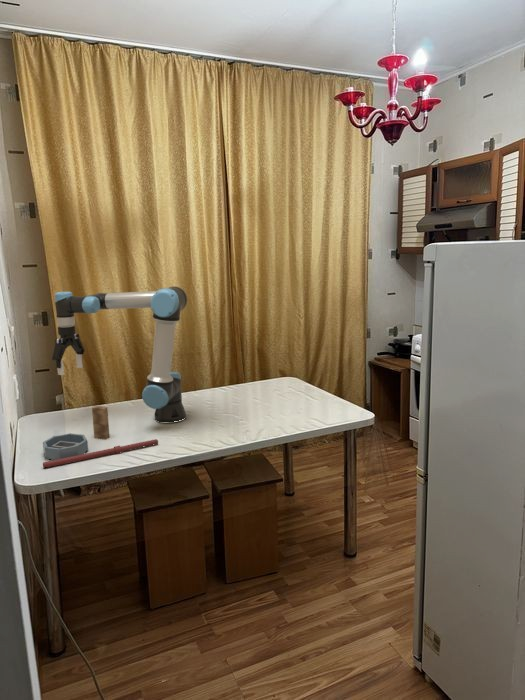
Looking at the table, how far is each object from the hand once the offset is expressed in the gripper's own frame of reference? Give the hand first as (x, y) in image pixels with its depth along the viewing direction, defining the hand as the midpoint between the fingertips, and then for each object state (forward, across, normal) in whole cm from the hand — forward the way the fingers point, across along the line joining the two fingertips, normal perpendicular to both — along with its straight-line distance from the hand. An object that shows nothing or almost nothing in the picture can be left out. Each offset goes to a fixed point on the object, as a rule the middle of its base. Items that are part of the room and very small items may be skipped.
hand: (70, 371), depth 236 cm
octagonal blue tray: (+26, +31, +18) cm, 44 cm away
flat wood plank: (+26, +13, +23) cm, 37 cm away
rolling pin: (+26, +29, +35) cm, 52 cm away
